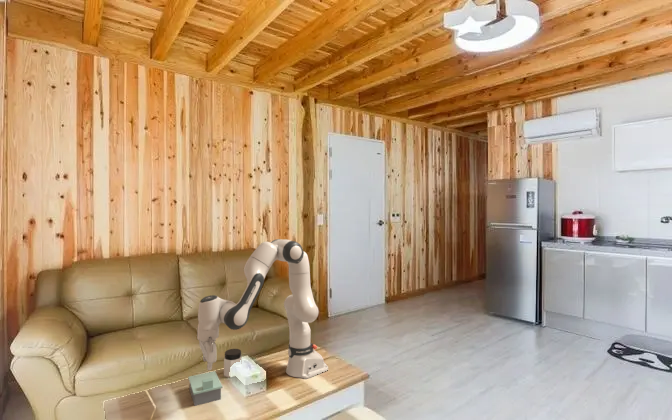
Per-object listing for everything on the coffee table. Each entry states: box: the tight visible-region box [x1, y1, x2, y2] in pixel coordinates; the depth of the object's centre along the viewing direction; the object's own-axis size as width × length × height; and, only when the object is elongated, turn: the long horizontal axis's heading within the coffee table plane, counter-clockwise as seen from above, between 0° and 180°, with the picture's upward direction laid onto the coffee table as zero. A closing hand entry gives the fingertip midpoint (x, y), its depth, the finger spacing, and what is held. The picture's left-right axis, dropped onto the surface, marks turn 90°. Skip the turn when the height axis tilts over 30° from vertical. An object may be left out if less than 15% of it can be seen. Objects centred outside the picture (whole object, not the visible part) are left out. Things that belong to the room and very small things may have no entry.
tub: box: [188, 384, 222, 407], centre depth 161 cm, size 11×15×6 cm
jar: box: [223, 348, 242, 378], centre depth 181 cm, size 9×8×12 cm
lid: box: [187, 370, 223, 395], centre depth 161 cm, size 12×16×4 cm
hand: (207, 365), depth 155 cm, fingers open, 8 cm apart
